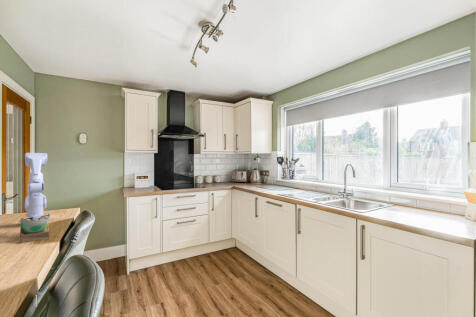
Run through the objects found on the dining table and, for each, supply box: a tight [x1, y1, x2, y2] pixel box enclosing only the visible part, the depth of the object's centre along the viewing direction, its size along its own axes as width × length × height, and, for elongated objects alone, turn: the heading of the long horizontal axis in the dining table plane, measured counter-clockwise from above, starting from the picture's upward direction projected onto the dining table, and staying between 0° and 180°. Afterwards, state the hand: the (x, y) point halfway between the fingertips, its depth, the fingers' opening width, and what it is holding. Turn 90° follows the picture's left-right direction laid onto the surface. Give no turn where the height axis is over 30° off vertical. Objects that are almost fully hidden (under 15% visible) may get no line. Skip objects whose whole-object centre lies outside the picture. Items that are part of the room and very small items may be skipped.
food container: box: [19, 213, 51, 237], centre depth 114 cm, size 12×6×10 cm, turn 158°
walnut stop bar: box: [20, 230, 50, 244], centre depth 110 cm, size 3×10×3 cm, turn 132°
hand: (35, 231), depth 118 cm, fingers closed
